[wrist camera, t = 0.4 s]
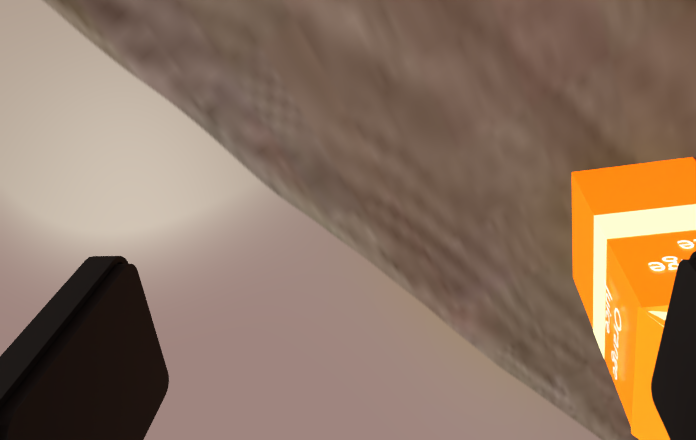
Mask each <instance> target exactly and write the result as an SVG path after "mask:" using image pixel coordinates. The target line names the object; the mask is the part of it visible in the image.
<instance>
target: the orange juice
mask: <svg viewBox="0 0 696 440" xmlns="http://www.w3.org/2000/svg"><path fill="white" fill-rule="evenodd" d="M572 239H573V279H574V281H575V284H576V286H577V289H578V291H579V294H580V297H581V299H582V302H583V304H584V307H585V309H586V312H587V315H588V317H589V320H590V322H591V325H592V327H593V332H594V335H595V337H596V340H597V342H598V345H599V348H600V350H601V353H602V355H603V358H605V361H606V363H607V366H608V369H609V371H610V374H611V376H612V379H613V381H614V384H615V386H616V389H617V392H618V394H619V397H620V399H621V402H622V404H623V407H624V410H625V412H626V415H627V417H628V420H629V422H630V425H631V434H633V435H634V436H635V437H637V438H638V439H639V440H670V438H669V436H668V433H667V431H666V429H665V427H664V425H663V423H662V420H661V418H660V416H659V414H658V412H657V409H656V407H655V405H654V402H653V399H652V394H651V380H652V376H653V372H654V367H655V363H656V359H657V354H658V350H659V346H660V341H661V337H662V333H663V328H664V324H665V320H666V315H667V311H668V307H669V302H670V298H671V294H672V289H673V285H674V281H675V276H676V272H677V268H678V265H679V263H680V261H681V260H683V259H689V258H690V256H691V255H692V253H693V252H695V251H696V161H695V160H694V159H693V158H692V157H689V158H681V159H673V160H665V161H657V162H649V163H641V164H633V165H625V166H617V167H609V168H601V169H593V170H585V171H577V172H572Z"/></svg>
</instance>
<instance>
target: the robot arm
mask: <svg viewBox="0 0 696 440" xmlns="http://www.w3.org/2000/svg"><path fill="white" fill-rule="evenodd" d="M168 382H169V376H168V371H167V368H166V365H165V361H164V358H163V355H162V351H161V348H160V344H159V341H158V338H157V334H156V331H155V328H154V324H153V321H152V318H151V314H150V311H149V308H148V304H147V301H146V297H145V294H144V291H143V287H142V284H141V281H140V277H139V274H138V271H137V268H136V267H135V266H134V265H133V264H128V261H127V260H126V259H125V258H124V257H122V256H93V257H89V258H88V259H87V260H85V261H84V263H83V264H82V265H81V266H80V267H79V268H78V270H77V271H76V272H75V273H74V274H73V275H72V276H71V277H70V279H69V280H68V281H67V282H66V283H65V284H64V285H63V286H62V287H61V289H60V290H59V291H58V292H57V293H56V294H55V295H54V297H53V298H52V299H51V300H50V301H49V302H48V303H47V304H46V305H45V307H44V308H43V309H42V310H41V311H40V312H39V313H38V315H37V316H36V317H35V318H34V319H33V320H32V321H31V322H30V324H29V325H28V326H27V327H26V328H25V329H24V330H23V332H22V333H21V334H20V335H19V336H18V337H17V338H16V339H15V340H14V342H13V343H12V344H11V345H10V346H9V347H8V348H7V350H6V351H5V352H4V353H3V354H2V355H1V356H0V440H143V439H144V437H145V435H146V433H147V431H148V429H149V427H150V425H151V423H152V421H153V419H154V417H155V415H156V413H157V411H158V409H159V407H160V405H161V403H162V401H163V399H164V397H165V395H166V392H167V389H168ZM651 394H652V399H653V402H654V405H655V407H656V409H657V412H658V414H659V416H660V418H661V420H662V423H663V425H664V427H665V429H666V431H667V433H668V436H669V438H670V440H696V251H695V252H693V253H692V255H691V256H690V258H689V259H683V260H681V261H680V263H679V265H678V268H677V272H676V276H675V281H674V285H673V289H672V294H671V298H670V302H669V307H668V311H667V315H666V320H665V324H664V328H663V333H662V337H661V341H660V346H659V350H658V354H657V359H656V363H655V367H654V372H653V376H652V380H651Z"/></svg>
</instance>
